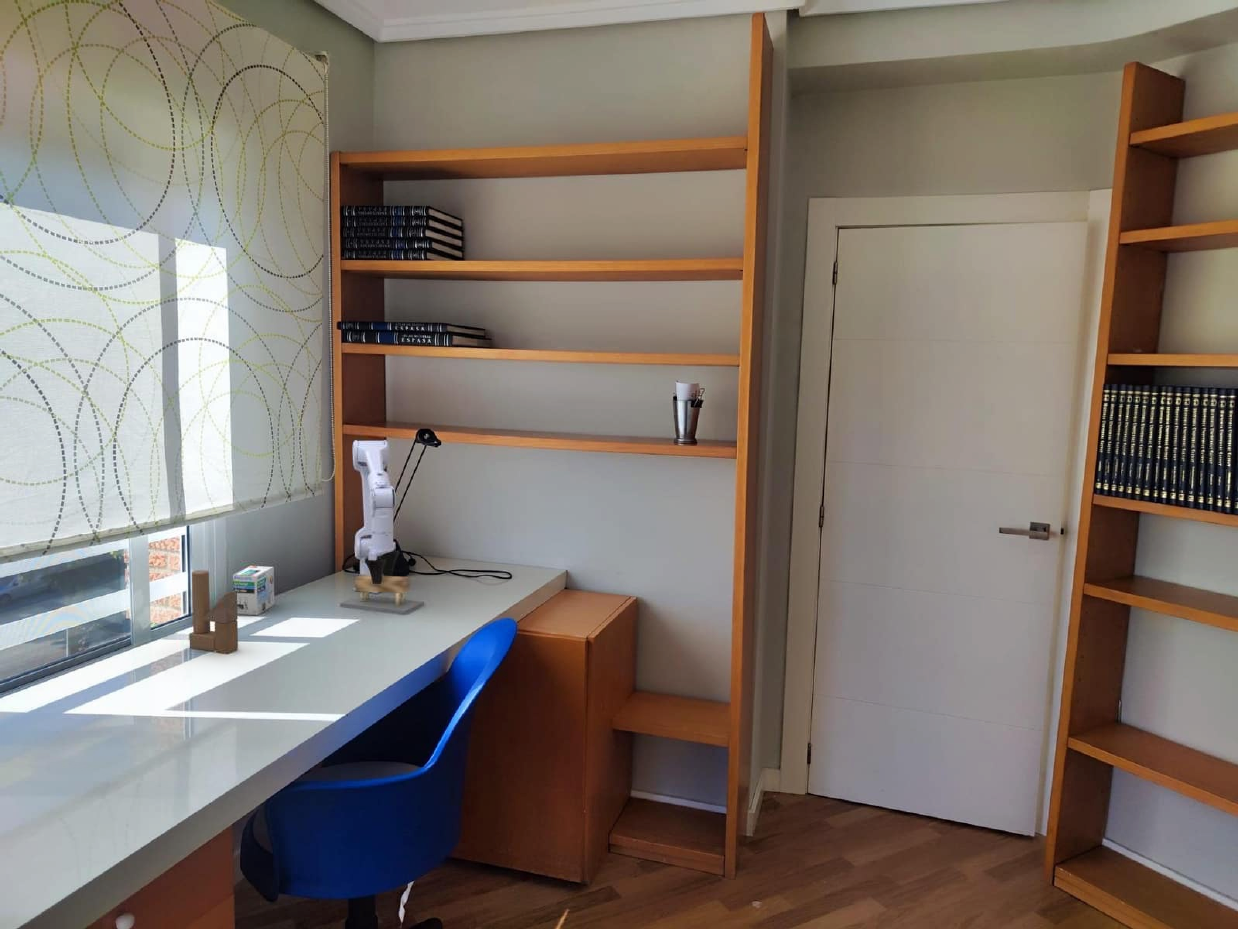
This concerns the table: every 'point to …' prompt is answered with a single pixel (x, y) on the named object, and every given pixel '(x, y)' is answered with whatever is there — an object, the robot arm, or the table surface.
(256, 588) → the light bulb box
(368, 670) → the table surface
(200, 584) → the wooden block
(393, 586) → the light wood bar
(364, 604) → the peg stand
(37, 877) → the table surface
